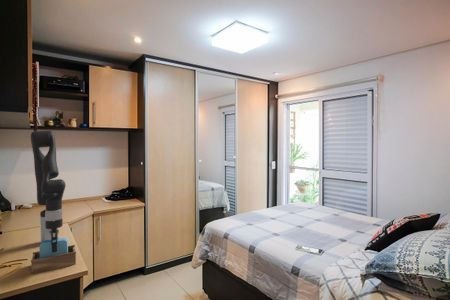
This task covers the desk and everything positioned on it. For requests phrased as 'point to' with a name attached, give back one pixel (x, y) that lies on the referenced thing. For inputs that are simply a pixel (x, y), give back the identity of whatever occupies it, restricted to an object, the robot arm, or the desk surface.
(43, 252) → the light blue flat block
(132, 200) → the desk surface
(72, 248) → the crate
